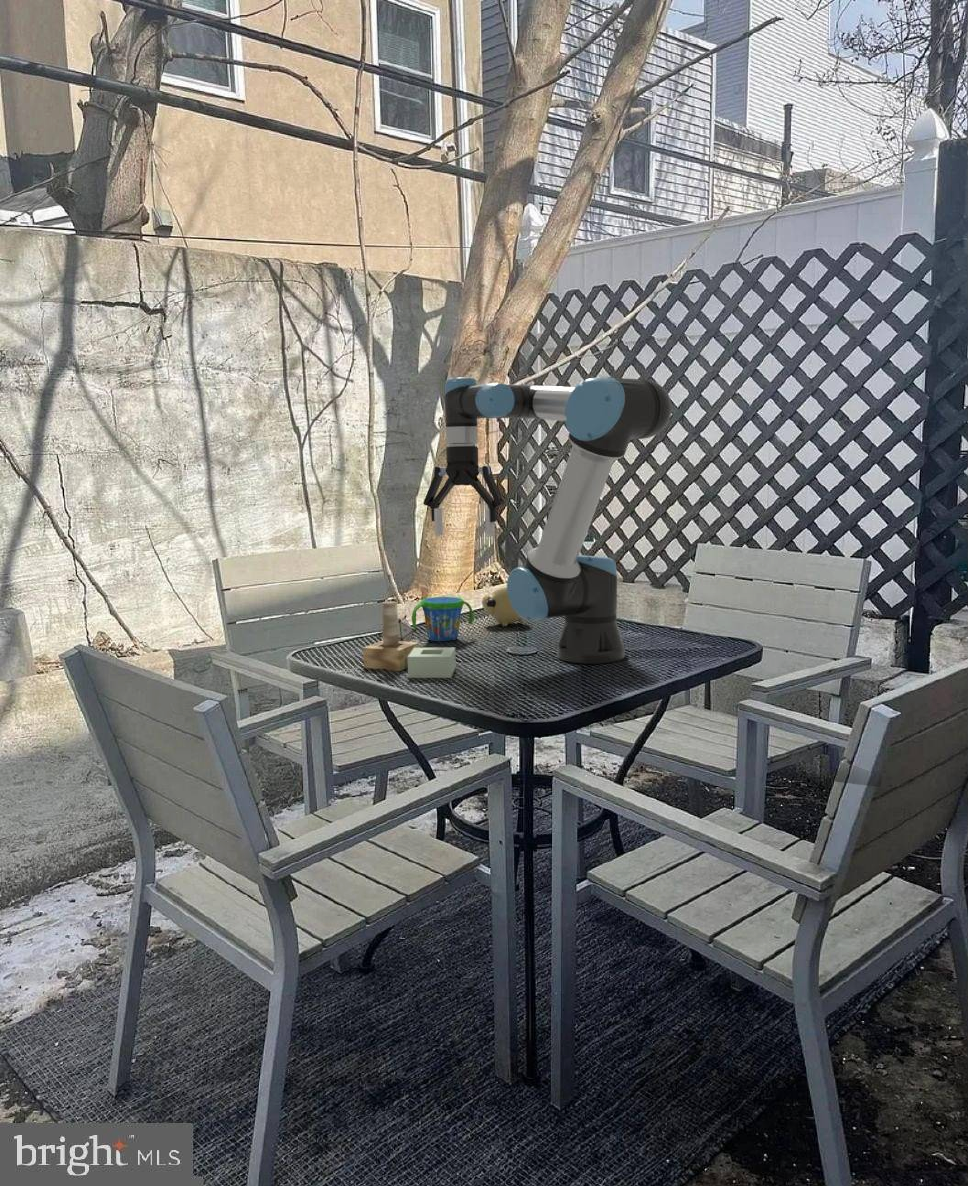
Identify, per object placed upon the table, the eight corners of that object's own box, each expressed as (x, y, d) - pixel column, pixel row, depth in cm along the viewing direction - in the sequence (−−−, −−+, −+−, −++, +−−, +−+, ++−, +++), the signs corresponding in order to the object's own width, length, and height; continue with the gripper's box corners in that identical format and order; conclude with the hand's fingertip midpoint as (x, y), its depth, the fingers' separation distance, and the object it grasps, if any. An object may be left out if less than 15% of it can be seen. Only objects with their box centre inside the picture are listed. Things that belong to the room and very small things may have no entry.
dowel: (402, 663, 206) (400, 602, 204) (394, 667, 203) (392, 604, 201) (389, 662, 208) (386, 601, 206) (381, 665, 205) (378, 603, 202)
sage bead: (455, 667, 201) (455, 647, 201) (450, 677, 192) (450, 656, 192) (414, 667, 202) (414, 647, 201) (408, 677, 193) (407, 656, 192)
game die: (403, 665, 221) (408, 637, 214) (371, 652, 222) (375, 624, 215) (418, 641, 227) (423, 613, 220) (387, 628, 228) (391, 600, 221)
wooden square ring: (419, 662, 208) (418, 642, 207) (399, 670, 199) (398, 650, 199) (384, 659, 211) (384, 639, 211) (363, 667, 203) (363, 647, 202)
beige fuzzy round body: (480, 622, 254) (479, 584, 252) (523, 620, 256) (522, 582, 254) (485, 629, 244) (484, 589, 243) (530, 627, 246) (529, 587, 244)
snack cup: (469, 633, 239) (468, 594, 238) (478, 641, 229) (477, 600, 227) (409, 637, 236) (408, 598, 234) (416, 645, 225) (414, 604, 224)
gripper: (517, 444, 215) (518, 535, 218) (422, 446, 225) (425, 533, 228) (504, 444, 208) (506, 538, 211) (407, 446, 219) (410, 536, 222)
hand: (464, 535), depth 220 cm, fingers open, 13 cm apart
